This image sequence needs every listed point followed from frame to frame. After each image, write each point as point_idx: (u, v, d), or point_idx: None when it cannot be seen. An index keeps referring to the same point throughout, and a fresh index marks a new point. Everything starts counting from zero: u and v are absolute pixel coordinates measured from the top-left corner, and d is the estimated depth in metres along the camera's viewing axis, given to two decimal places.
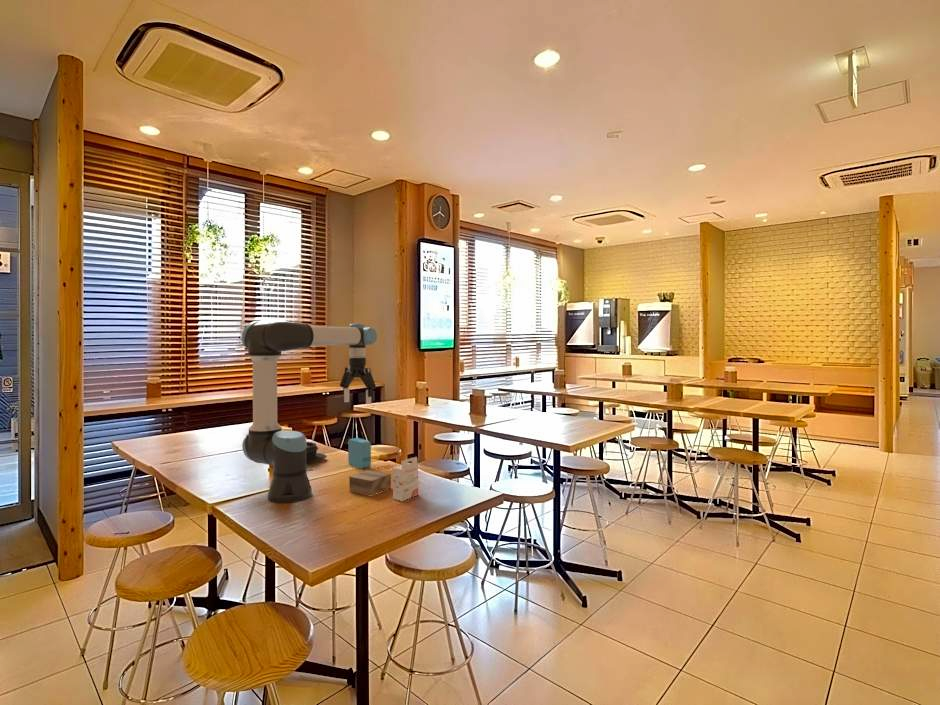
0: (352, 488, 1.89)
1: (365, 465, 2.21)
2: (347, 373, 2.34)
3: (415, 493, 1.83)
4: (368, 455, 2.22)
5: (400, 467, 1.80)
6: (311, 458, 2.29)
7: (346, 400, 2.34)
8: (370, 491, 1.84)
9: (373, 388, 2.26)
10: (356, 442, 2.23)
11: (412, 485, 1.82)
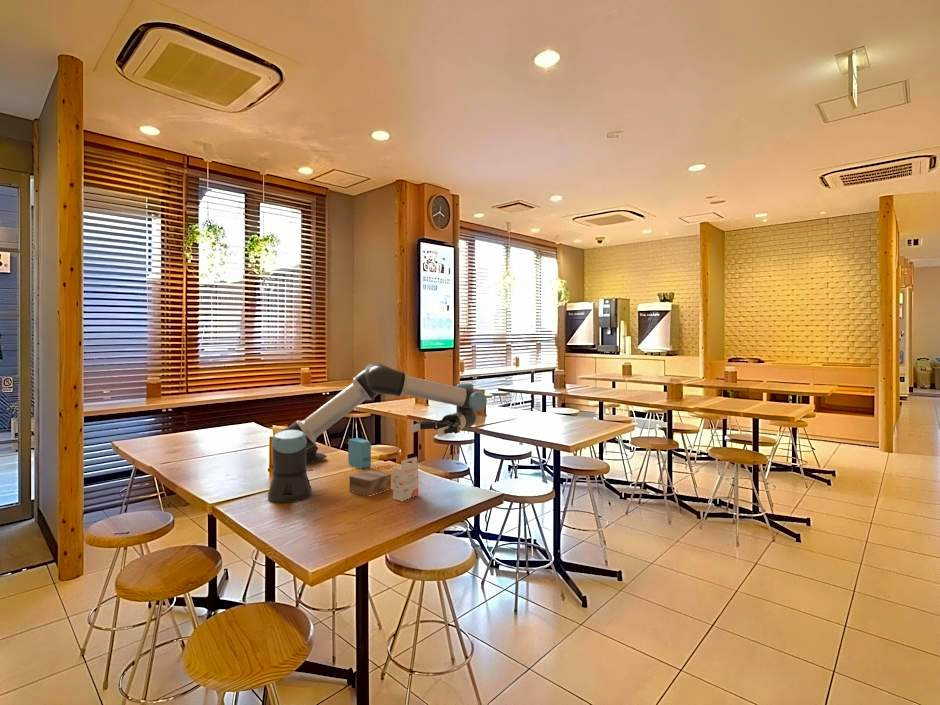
0: (352, 488, 1.89)
1: (365, 465, 2.21)
2: None
3: (415, 493, 1.83)
4: (368, 455, 2.22)
5: (400, 467, 1.80)
6: (311, 458, 2.29)
7: (411, 427, 1.96)
8: (368, 491, 1.84)
9: (454, 430, 1.94)
10: (356, 442, 2.23)
11: (412, 485, 1.82)
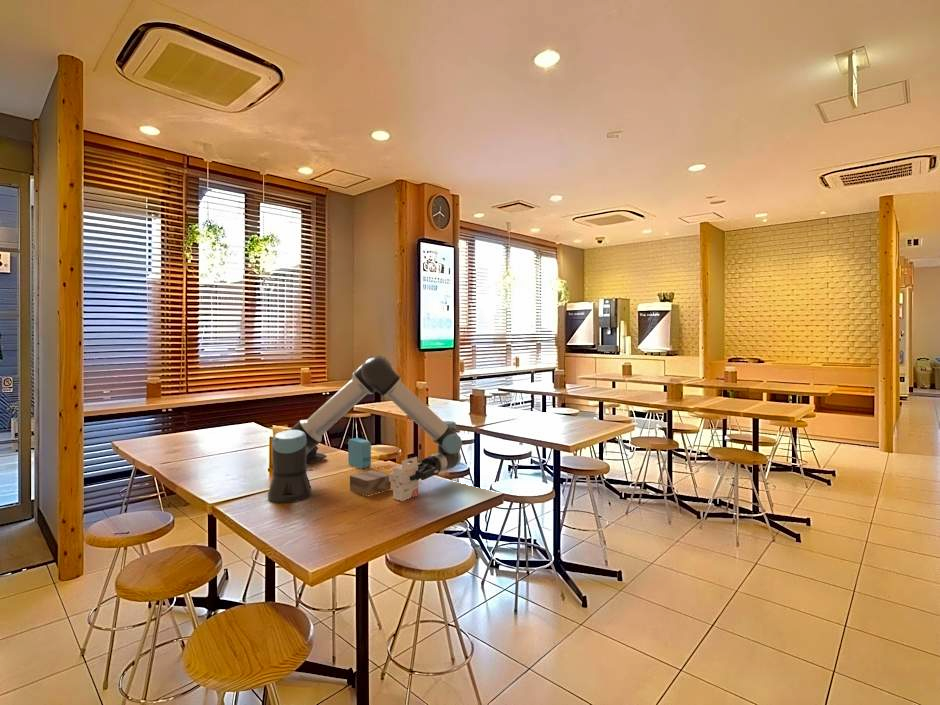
0: (352, 487, 1.90)
1: (365, 465, 2.21)
2: None
3: (415, 493, 1.83)
4: (368, 455, 2.22)
5: (400, 467, 1.80)
6: (311, 458, 2.29)
7: (392, 475, 1.80)
8: (366, 491, 1.84)
9: (421, 477, 1.81)
10: (356, 442, 2.23)
11: (412, 485, 1.82)
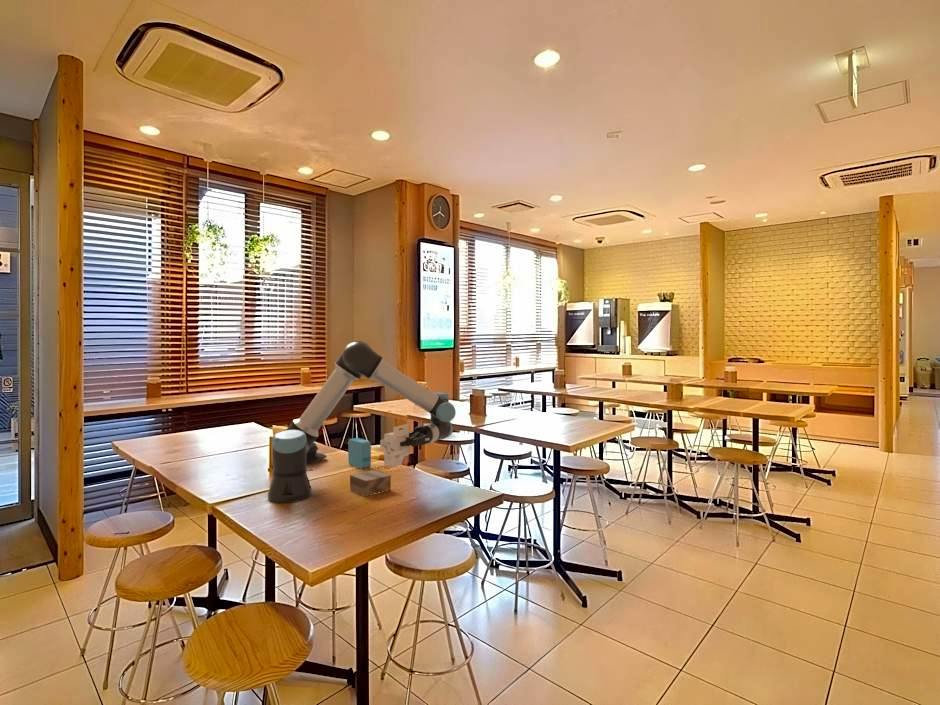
0: (352, 487, 1.90)
1: (365, 465, 2.21)
2: None
3: (406, 460, 1.86)
4: (368, 455, 2.22)
5: (392, 433, 1.82)
6: (311, 458, 2.29)
7: (383, 442, 1.82)
8: (365, 491, 1.84)
9: (411, 443, 1.83)
10: (356, 442, 2.23)
11: (403, 452, 1.84)
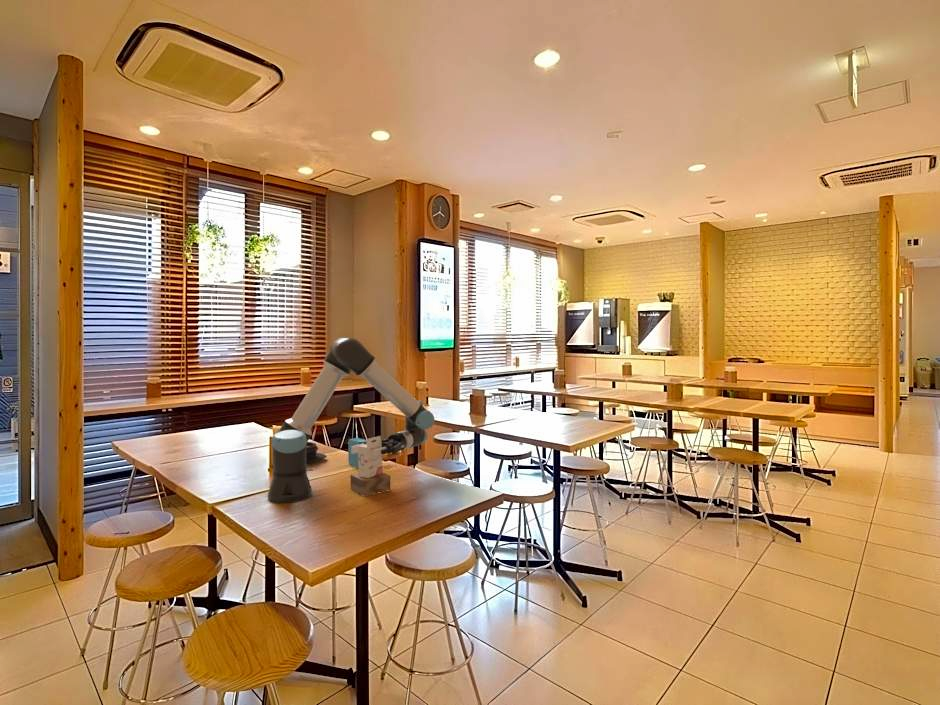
0: (352, 487, 1.91)
1: None
2: None
3: (379, 470, 1.92)
4: None
5: (365, 446, 1.89)
6: (311, 458, 2.29)
7: (353, 448, 1.91)
8: (363, 491, 1.84)
9: (392, 451, 1.89)
10: (356, 442, 2.23)
11: (377, 462, 1.91)
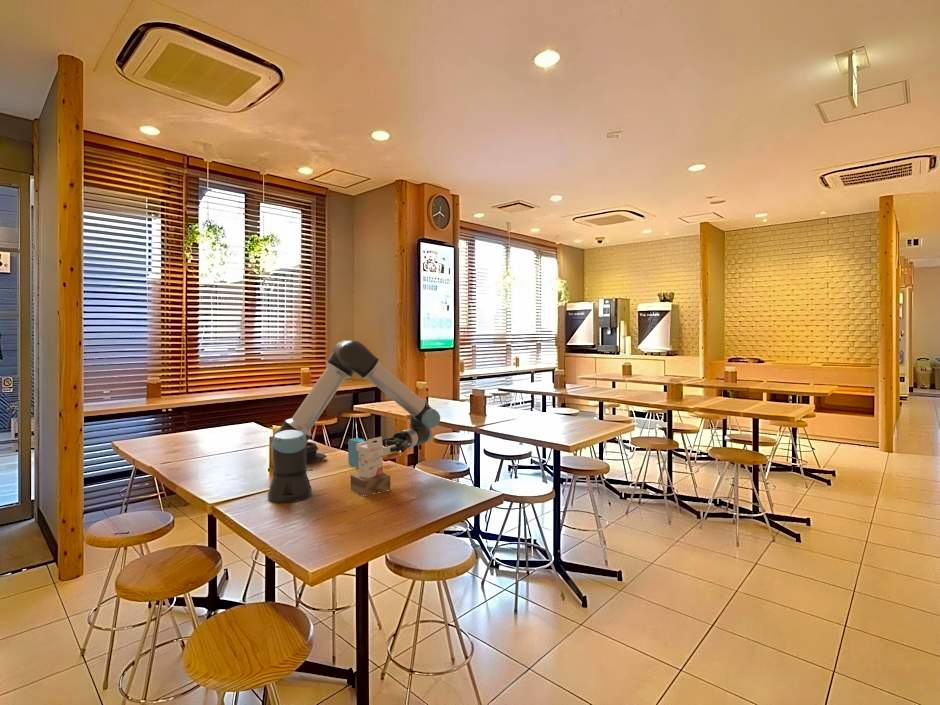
0: (352, 487, 1.91)
1: None
2: None
3: (380, 471, 1.92)
4: None
5: (365, 446, 1.88)
6: (311, 458, 2.29)
7: (358, 445, 1.94)
8: (363, 492, 1.84)
9: (401, 449, 1.91)
10: (356, 442, 2.23)
11: (377, 463, 1.91)
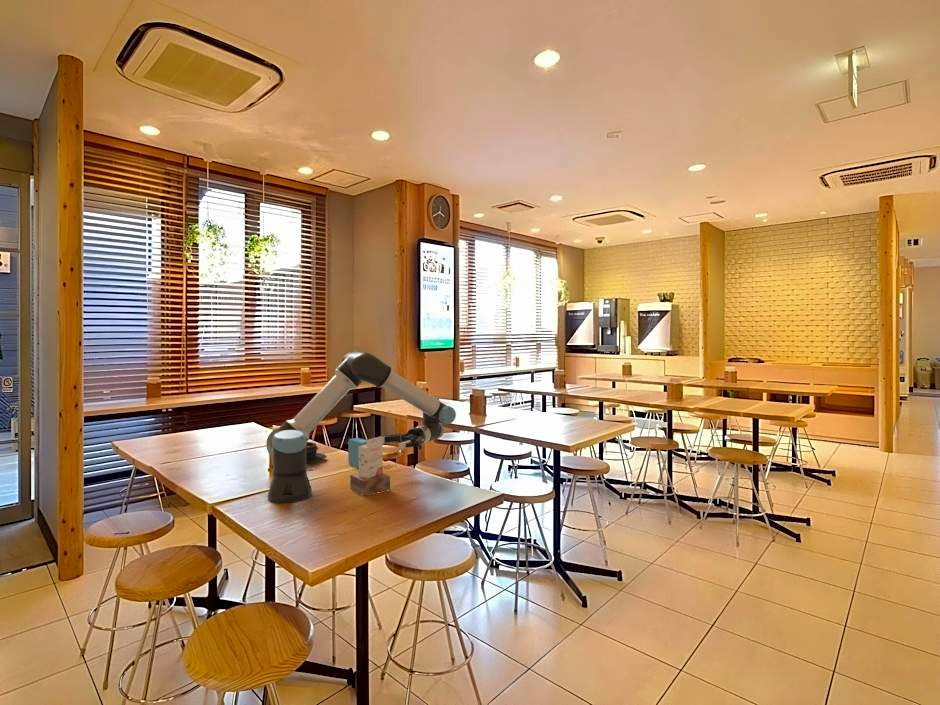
0: (352, 487, 1.91)
1: None
2: None
3: (380, 471, 1.92)
4: None
5: (365, 446, 1.89)
6: (311, 458, 2.29)
7: (375, 441, 2.03)
8: (363, 492, 1.84)
9: (416, 444, 2.00)
10: (356, 442, 2.23)
11: (377, 463, 1.91)
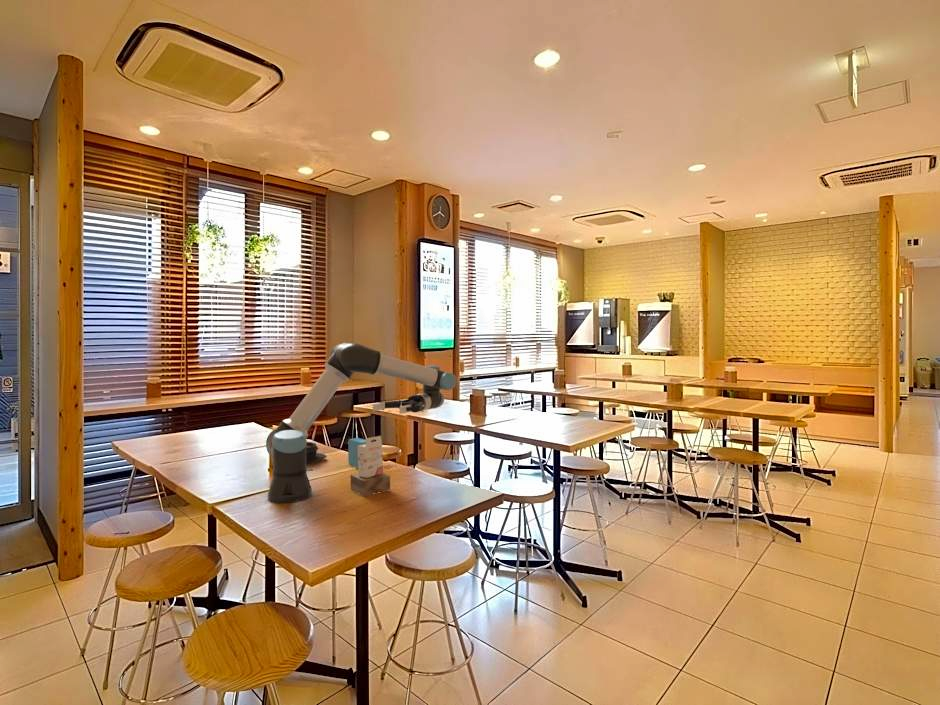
0: (352, 486, 1.91)
1: None
2: None
3: (380, 471, 1.92)
4: None
5: (364, 445, 1.89)
6: (311, 458, 2.29)
7: (375, 406, 2.03)
8: (362, 491, 1.84)
9: (416, 409, 2.00)
10: (356, 442, 2.23)
11: (377, 462, 1.91)
